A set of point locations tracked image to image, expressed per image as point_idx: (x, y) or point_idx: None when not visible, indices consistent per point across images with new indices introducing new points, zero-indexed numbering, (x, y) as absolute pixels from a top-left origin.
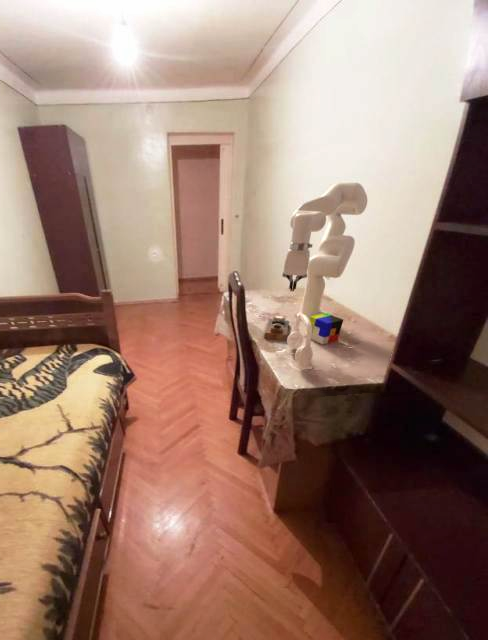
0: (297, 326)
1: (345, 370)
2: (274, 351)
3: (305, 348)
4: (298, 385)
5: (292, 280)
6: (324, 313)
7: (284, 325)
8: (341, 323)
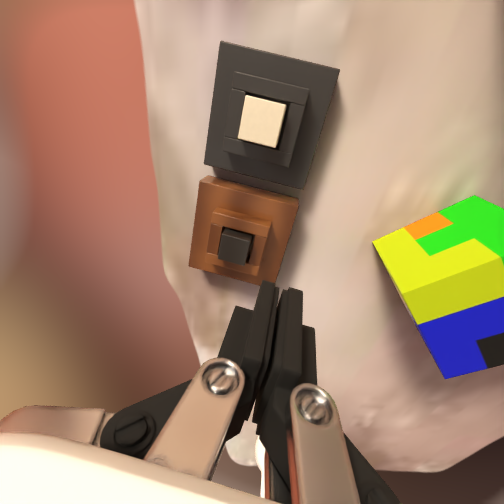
0: None
1: (387, 437)
2: None
3: None
4: (255, 463)
5: (230, 433)
6: None
7: (291, 160)
8: None
